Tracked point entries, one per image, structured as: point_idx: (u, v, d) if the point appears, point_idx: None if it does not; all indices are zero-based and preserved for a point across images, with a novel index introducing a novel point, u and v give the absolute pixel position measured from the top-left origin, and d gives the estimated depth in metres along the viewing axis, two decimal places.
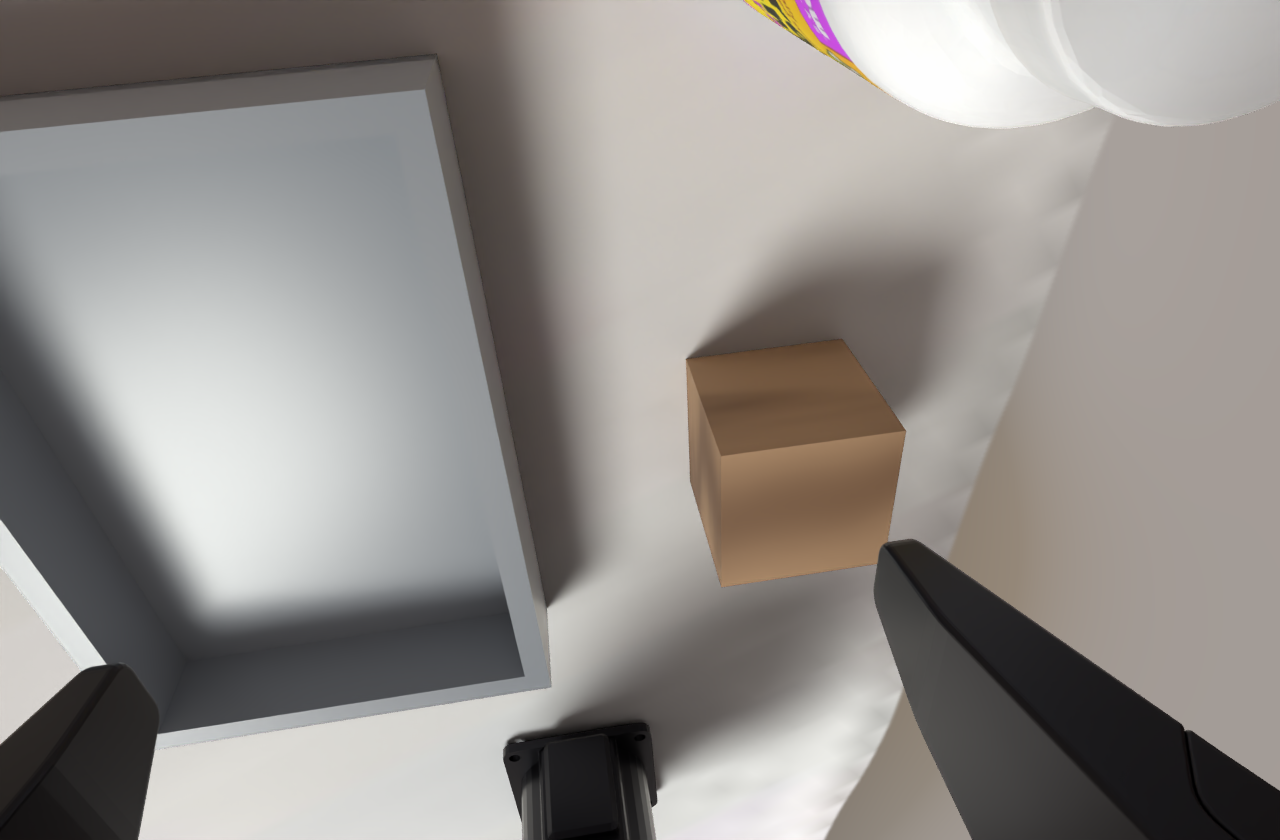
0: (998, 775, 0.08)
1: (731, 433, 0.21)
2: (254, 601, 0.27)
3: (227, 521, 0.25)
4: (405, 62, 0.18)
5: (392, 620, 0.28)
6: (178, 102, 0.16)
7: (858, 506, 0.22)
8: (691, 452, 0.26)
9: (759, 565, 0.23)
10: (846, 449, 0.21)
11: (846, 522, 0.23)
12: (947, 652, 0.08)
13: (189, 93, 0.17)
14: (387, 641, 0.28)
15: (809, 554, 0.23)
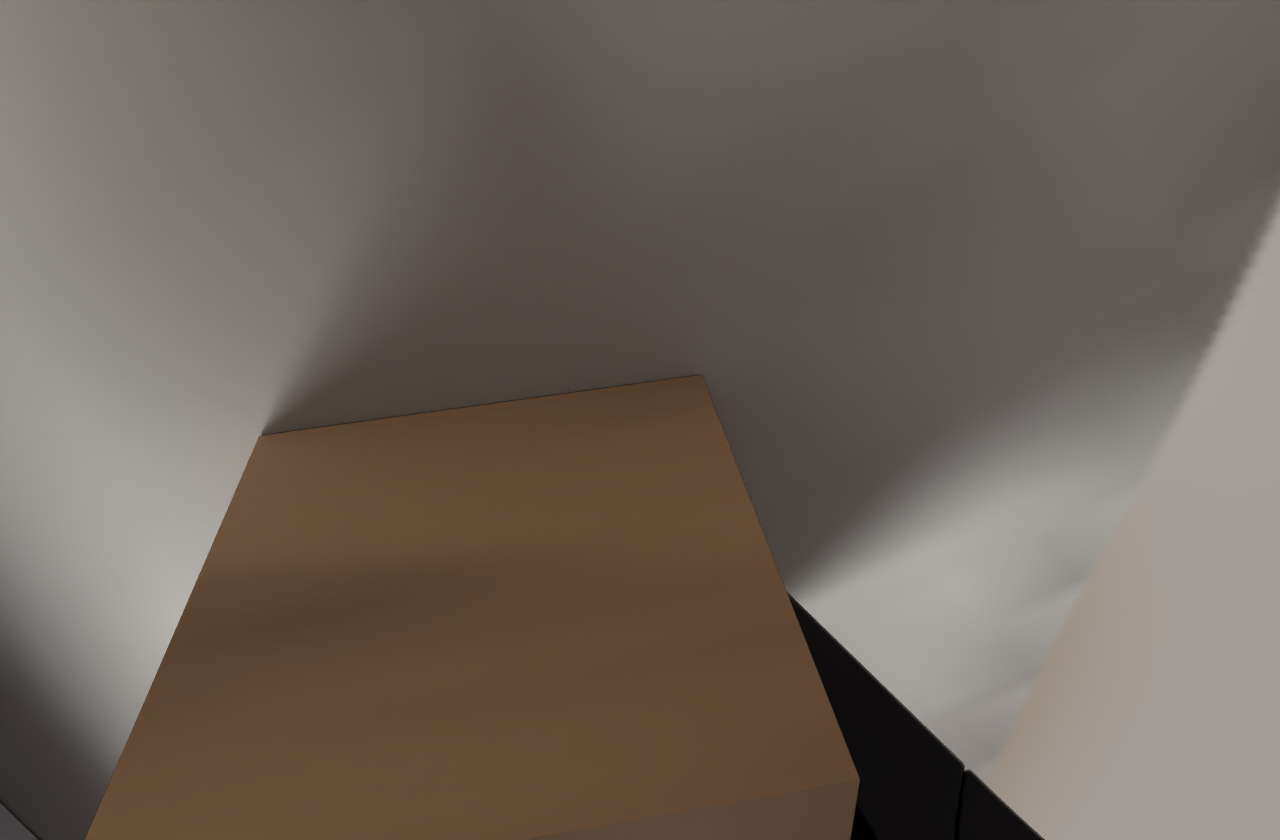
0: None
1: (181, 768, 0.05)
2: None
3: None
4: None
5: None
6: None
7: None
8: None
9: None
10: None
11: None
12: None
13: None
14: None
15: None
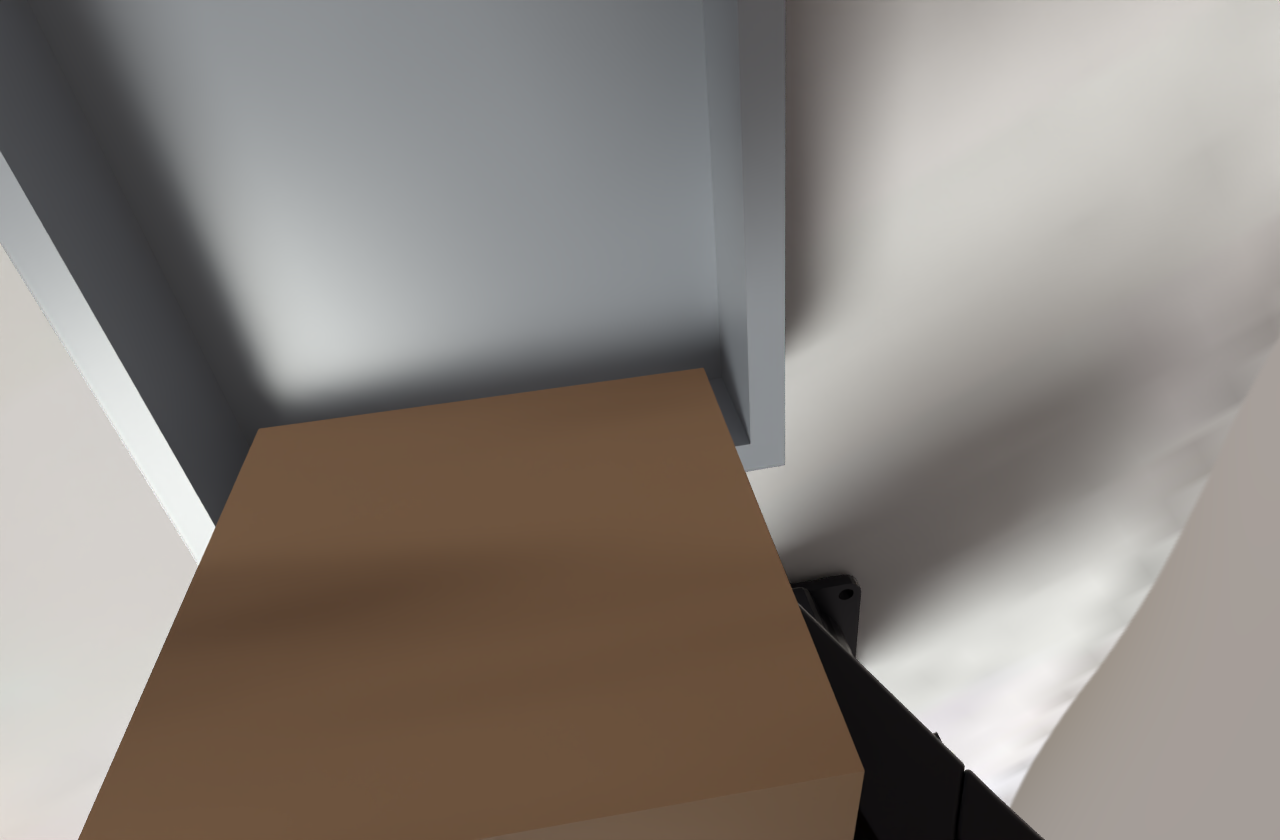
0: None
1: (179, 762, 0.05)
2: (351, 351, 0.19)
3: (315, 197, 0.16)
4: None
5: None
6: None
7: None
8: None
9: None
10: None
11: None
12: None
13: None
14: None
15: None
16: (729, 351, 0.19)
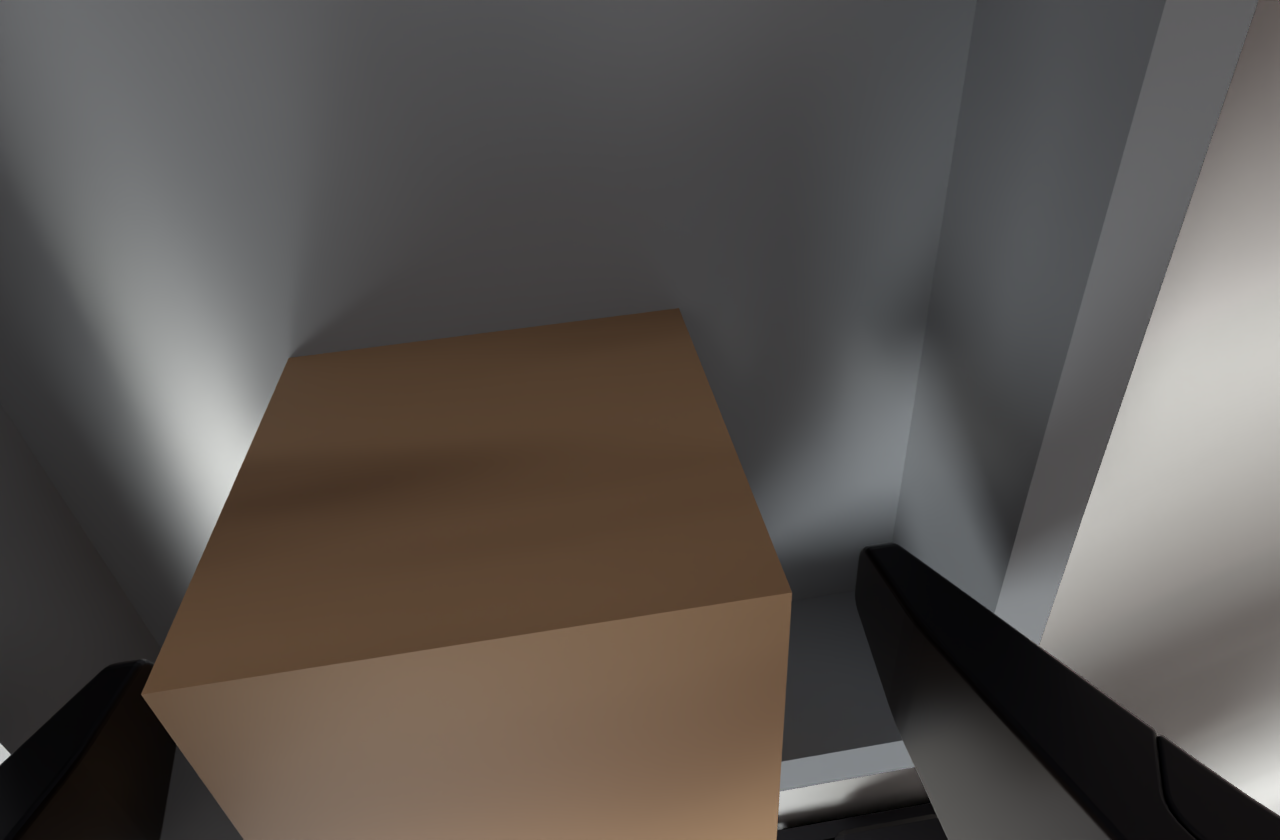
0: (974, 779, 0.08)
1: (239, 594, 0.07)
2: None
3: (294, 353, 0.10)
4: None
5: None
6: None
7: (675, 786, 0.08)
8: None
9: None
10: (597, 653, 0.06)
11: (649, 823, 0.08)
12: (924, 656, 0.08)
13: None
14: None
15: None
16: None
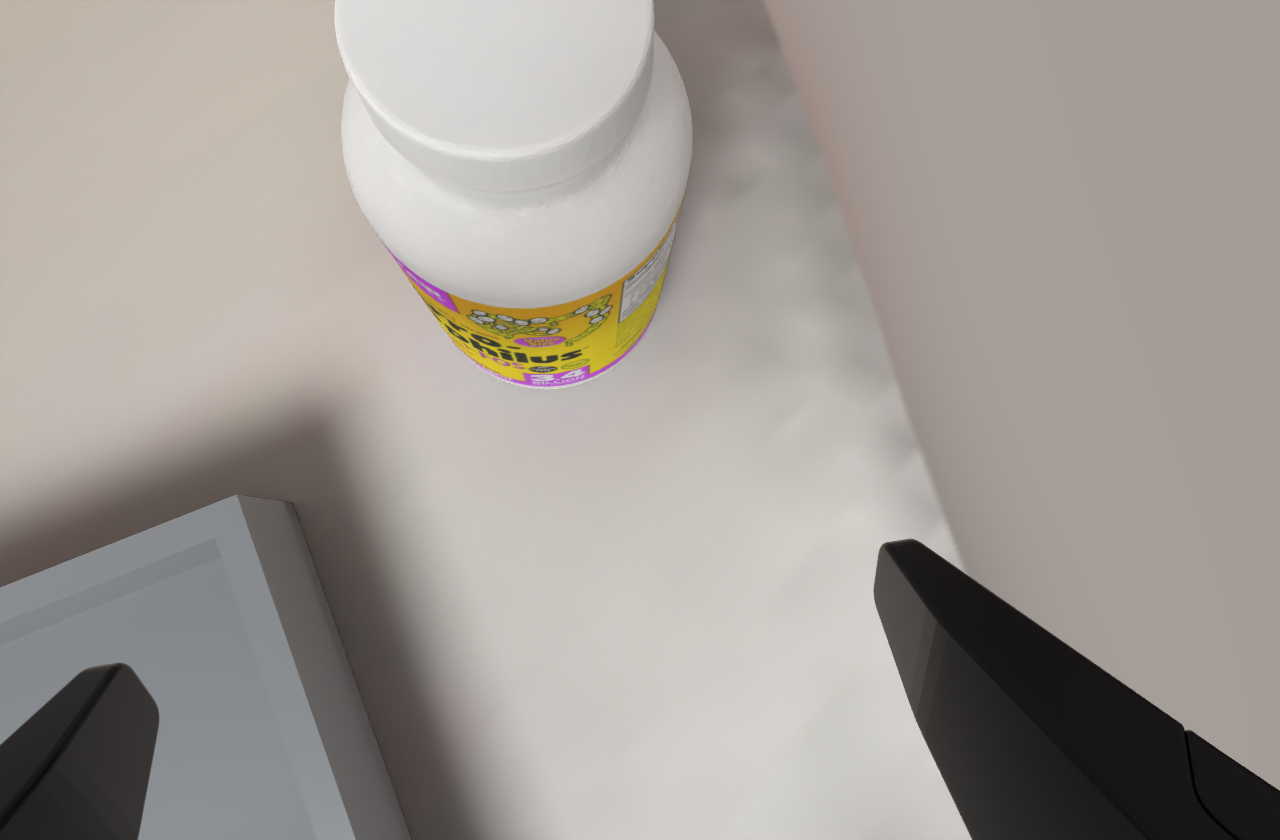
0: (998, 775, 0.08)
1: None
2: None
3: None
4: None
5: None
6: None
7: None
8: None
9: None
10: None
11: None
12: (947, 652, 0.08)
13: None
14: None
15: None
16: None
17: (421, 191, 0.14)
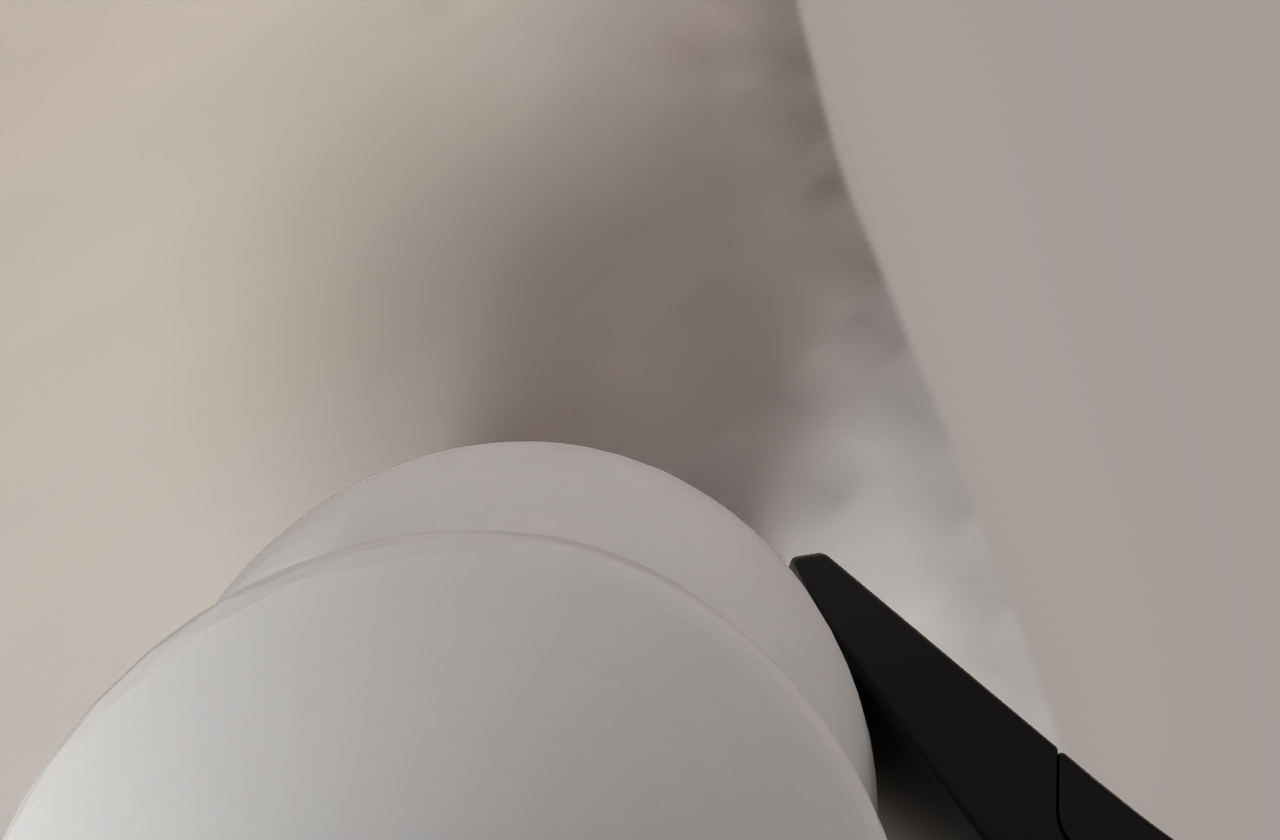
0: (887, 795, 0.08)
1: None
2: None
3: None
4: None
5: None
6: None
7: None
8: None
9: None
10: None
11: None
12: None
13: None
14: None
15: None
16: None
17: None
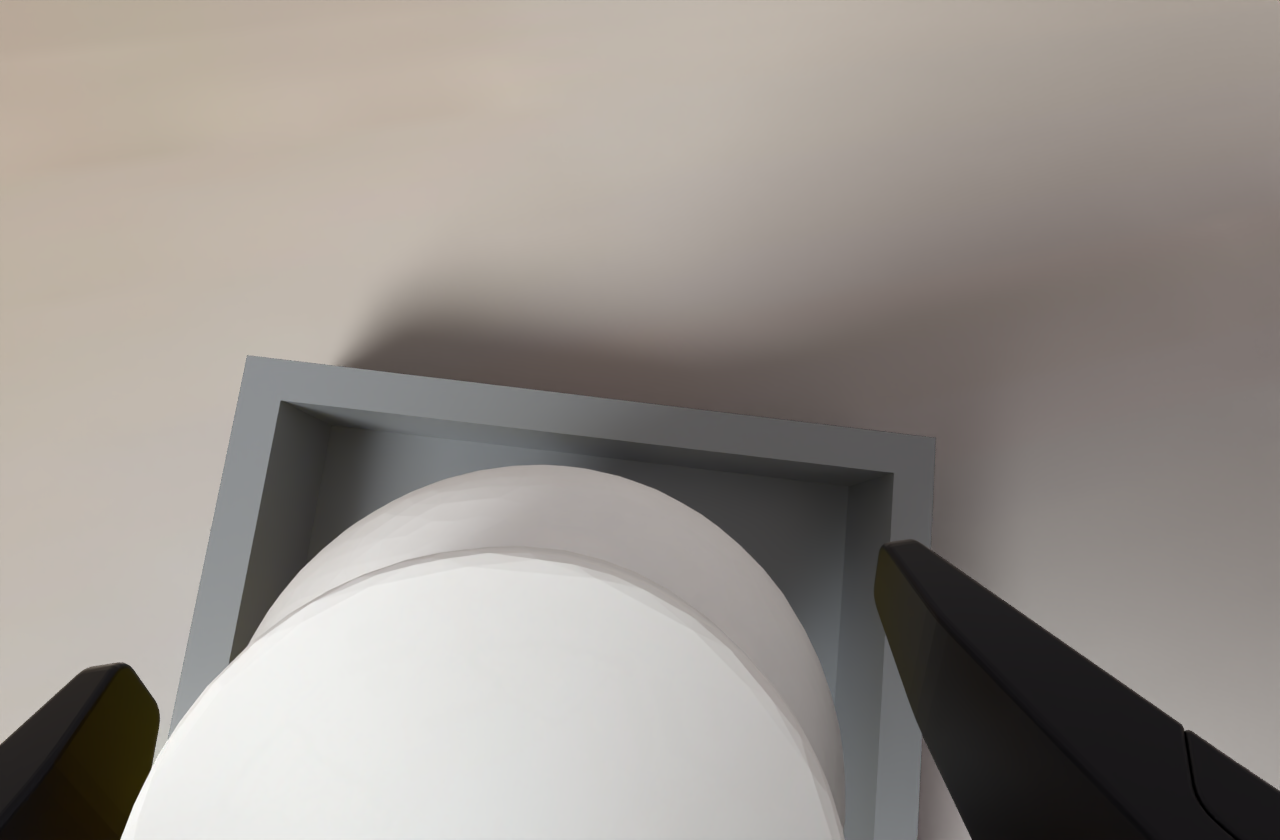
0: (998, 775, 0.08)
1: None
2: None
3: None
4: None
5: None
6: None
7: None
8: None
9: None
10: None
11: None
12: (947, 652, 0.08)
13: None
14: None
15: None
16: None
17: None
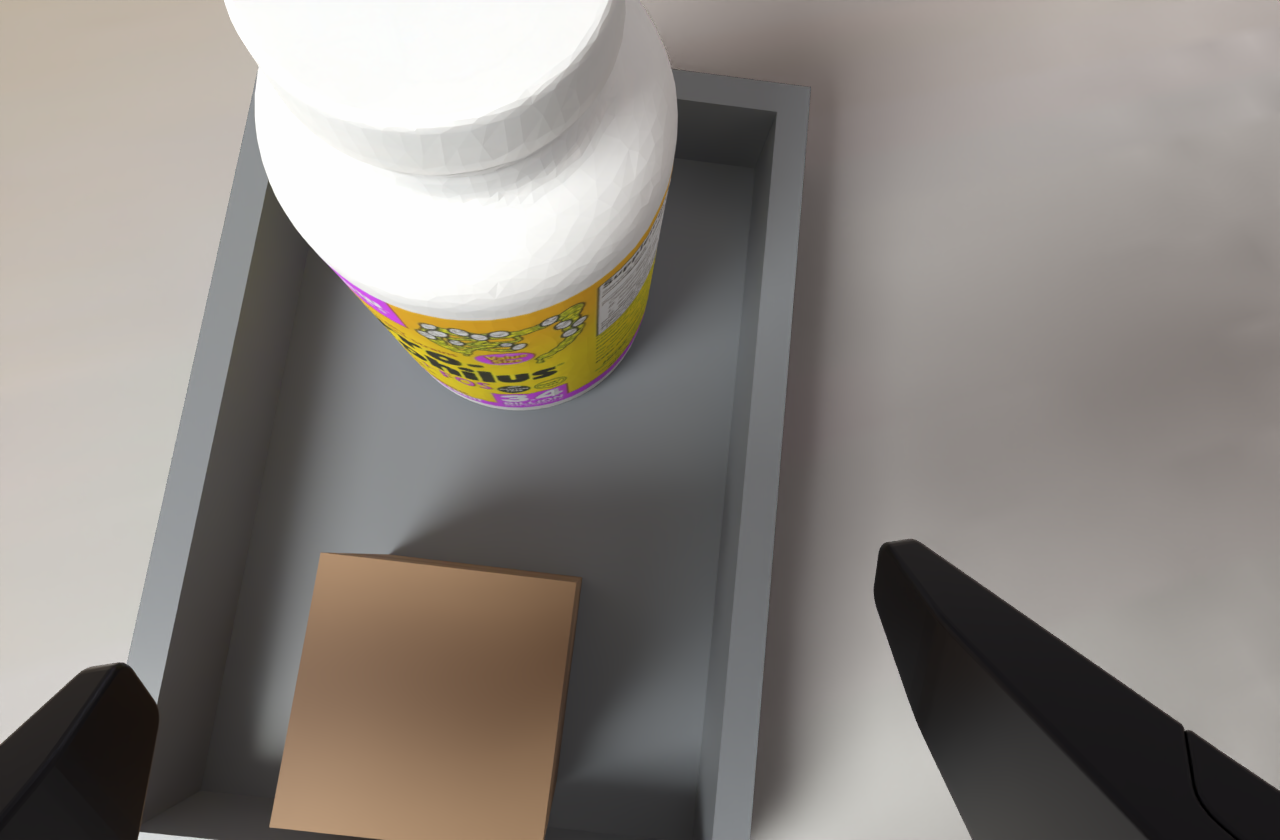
0: (998, 775, 0.08)
1: (359, 555, 0.16)
2: None
3: (392, 552, 0.20)
4: None
5: None
6: None
7: (504, 709, 0.15)
8: None
9: (338, 794, 0.15)
10: (492, 591, 0.15)
11: (484, 740, 0.15)
12: (947, 652, 0.08)
13: None
14: None
15: (421, 795, 0.15)
16: (703, 794, 0.19)
17: (346, 178, 0.11)
